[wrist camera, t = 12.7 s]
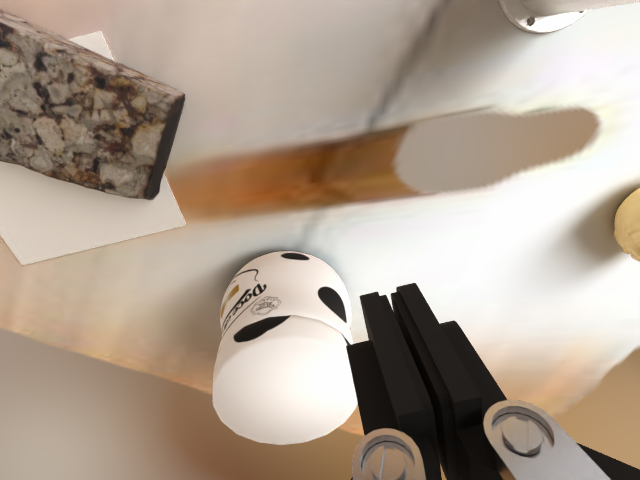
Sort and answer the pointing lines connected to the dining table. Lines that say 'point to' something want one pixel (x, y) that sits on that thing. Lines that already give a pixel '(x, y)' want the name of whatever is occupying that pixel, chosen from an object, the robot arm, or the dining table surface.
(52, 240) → the mat
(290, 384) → the milk container
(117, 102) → the stone block
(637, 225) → the sculpture
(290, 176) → the dining table surface
